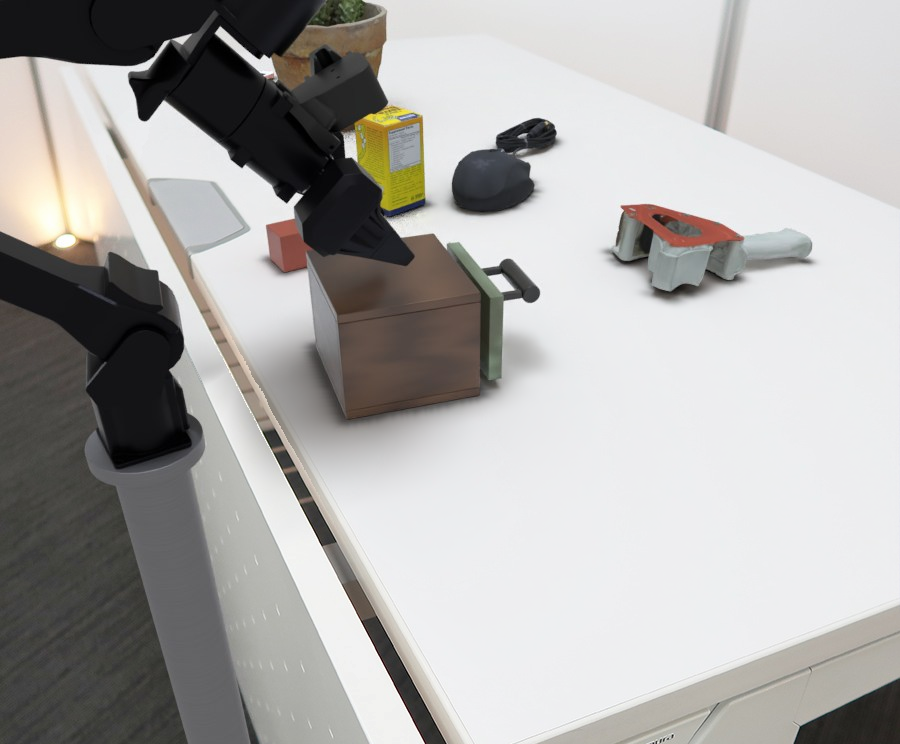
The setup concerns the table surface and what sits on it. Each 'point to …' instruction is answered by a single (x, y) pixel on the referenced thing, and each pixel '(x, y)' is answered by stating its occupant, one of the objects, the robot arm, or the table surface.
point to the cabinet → (396, 328)
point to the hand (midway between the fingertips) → (395, 238)
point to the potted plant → (335, 39)
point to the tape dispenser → (696, 245)
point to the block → (286, 245)
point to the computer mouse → (500, 169)
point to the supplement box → (394, 156)
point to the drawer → (493, 303)
